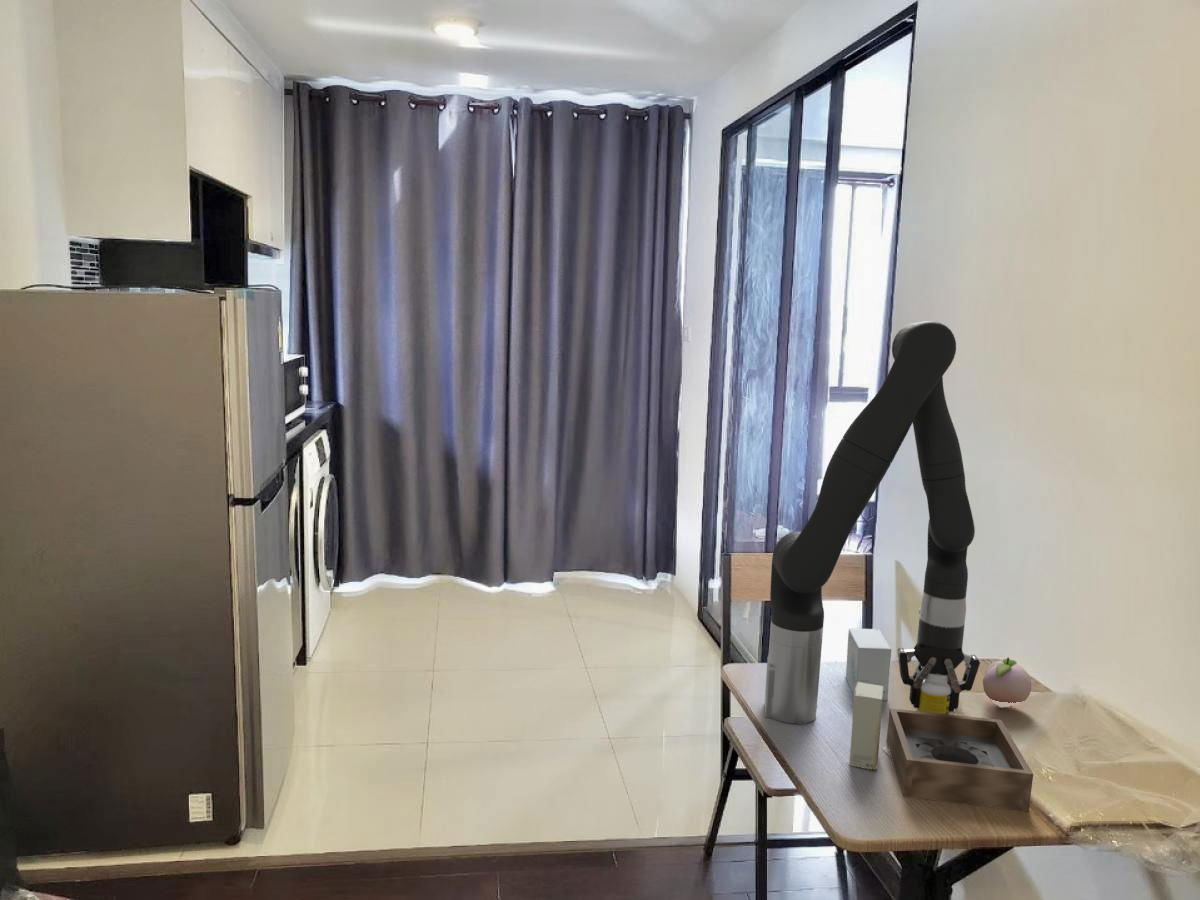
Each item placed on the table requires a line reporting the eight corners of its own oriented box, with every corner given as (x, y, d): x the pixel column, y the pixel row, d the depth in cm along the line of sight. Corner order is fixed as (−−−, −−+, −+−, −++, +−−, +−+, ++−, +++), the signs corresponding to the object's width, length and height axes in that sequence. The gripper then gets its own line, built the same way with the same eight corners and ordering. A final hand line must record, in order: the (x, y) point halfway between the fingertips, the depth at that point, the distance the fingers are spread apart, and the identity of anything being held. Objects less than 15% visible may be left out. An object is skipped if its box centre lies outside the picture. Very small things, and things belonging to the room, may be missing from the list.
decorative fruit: (1026, 723, 163) (1032, 671, 161) (977, 712, 167) (983, 661, 165) (1030, 704, 171) (1036, 654, 169) (983, 694, 175) (989, 645, 173)
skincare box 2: (876, 771, 144) (882, 700, 142) (847, 766, 145) (853, 695, 143) (878, 754, 150) (884, 685, 148) (851, 748, 151) (857, 680, 149)
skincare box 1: (843, 676, 181) (847, 626, 179) (876, 678, 181) (880, 628, 179) (853, 698, 171) (858, 646, 169) (888, 701, 170) (893, 648, 169)
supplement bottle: (949, 732, 158) (955, 679, 157) (917, 728, 159) (922, 676, 158) (944, 718, 164) (949, 667, 162) (913, 715, 165) (918, 664, 163)
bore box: (903, 796, 137) (906, 759, 136) (886, 741, 154) (889, 708, 153) (1028, 811, 134) (1033, 774, 133) (997, 753, 151) (1000, 719, 150)
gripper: (903, 621, 156) (894, 713, 158) (990, 629, 153) (980, 722, 156) (896, 607, 163) (888, 695, 166) (979, 614, 161) (970, 703, 163)
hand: (933, 707), depth 161 cm, fingers closed on supplement bottle, 5 cm apart
